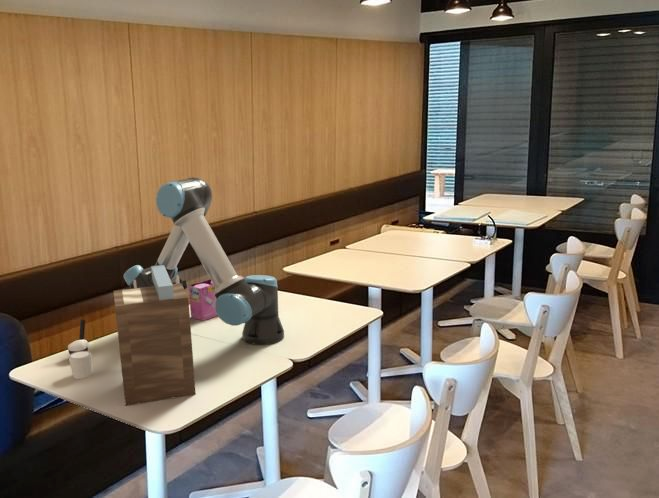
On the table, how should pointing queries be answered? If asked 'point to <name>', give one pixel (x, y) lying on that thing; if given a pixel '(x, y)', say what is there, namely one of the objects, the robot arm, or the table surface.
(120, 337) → the shelf
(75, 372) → the shot glass
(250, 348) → the table surface
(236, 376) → the table surface
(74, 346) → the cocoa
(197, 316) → the gum box
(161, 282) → the rod
